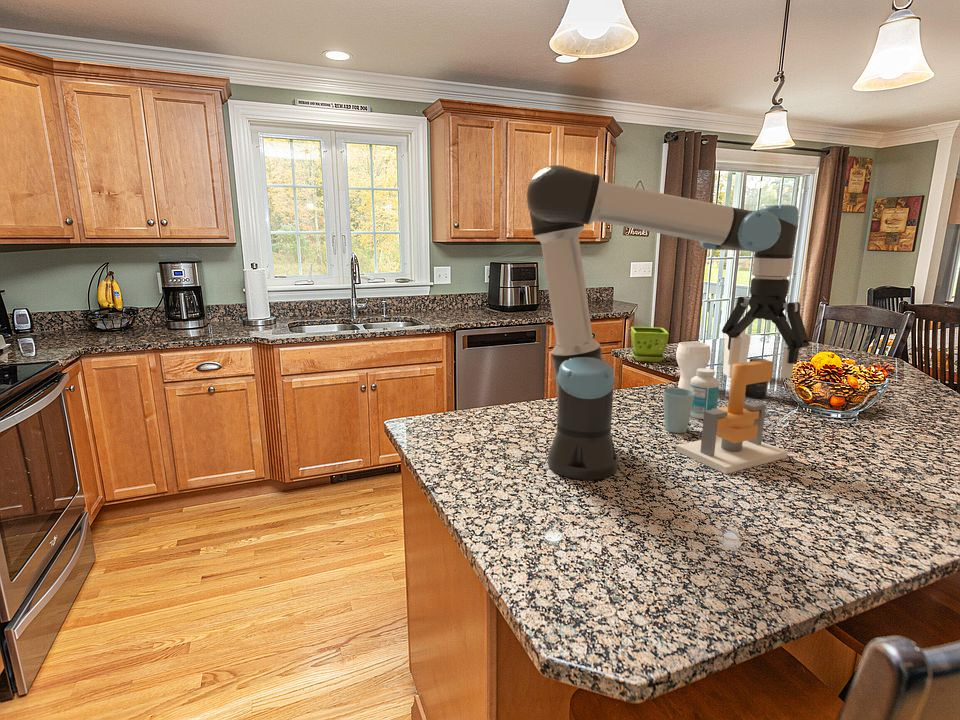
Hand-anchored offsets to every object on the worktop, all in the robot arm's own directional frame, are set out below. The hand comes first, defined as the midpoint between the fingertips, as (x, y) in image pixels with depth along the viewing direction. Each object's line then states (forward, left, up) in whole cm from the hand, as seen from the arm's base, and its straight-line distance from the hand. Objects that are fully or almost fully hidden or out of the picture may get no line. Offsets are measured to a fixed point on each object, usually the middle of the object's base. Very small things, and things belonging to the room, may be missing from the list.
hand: (758, 370), depth 123 cm
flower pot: (+47, +86, -20) cm, 100 cm away
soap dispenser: (+56, +51, -20) cm, 78 cm away
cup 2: (+30, +46, -20) cm, 58 cm away
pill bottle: (+9, +23, -20) cm, 32 cm away
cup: (-5, +18, -20) cm, 27 cm away
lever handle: (-5, 0, -15) cm, 16 cm away
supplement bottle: (+40, +30, -20) cm, 54 cm away
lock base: (-7, 0, -19) cm, 20 cm away
